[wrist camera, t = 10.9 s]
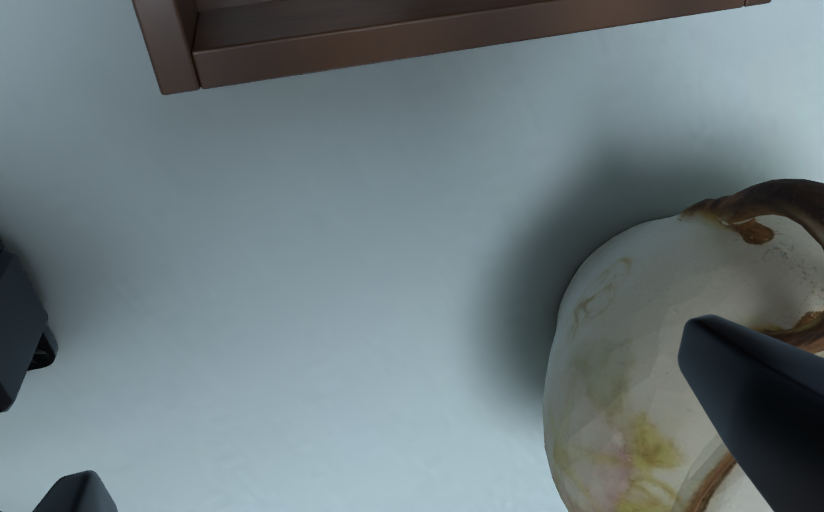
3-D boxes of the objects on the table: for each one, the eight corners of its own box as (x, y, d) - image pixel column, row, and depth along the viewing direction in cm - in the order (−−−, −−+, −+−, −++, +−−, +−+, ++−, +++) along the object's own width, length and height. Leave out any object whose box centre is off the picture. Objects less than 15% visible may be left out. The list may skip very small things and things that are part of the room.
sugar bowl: (429, 168, 20) (735, 600, 8) (816, 12, 21) (1628, 193, 9) (527, 484, 32) (718, 865, 19) (778, 375, 32) (1113, 675, 20)
